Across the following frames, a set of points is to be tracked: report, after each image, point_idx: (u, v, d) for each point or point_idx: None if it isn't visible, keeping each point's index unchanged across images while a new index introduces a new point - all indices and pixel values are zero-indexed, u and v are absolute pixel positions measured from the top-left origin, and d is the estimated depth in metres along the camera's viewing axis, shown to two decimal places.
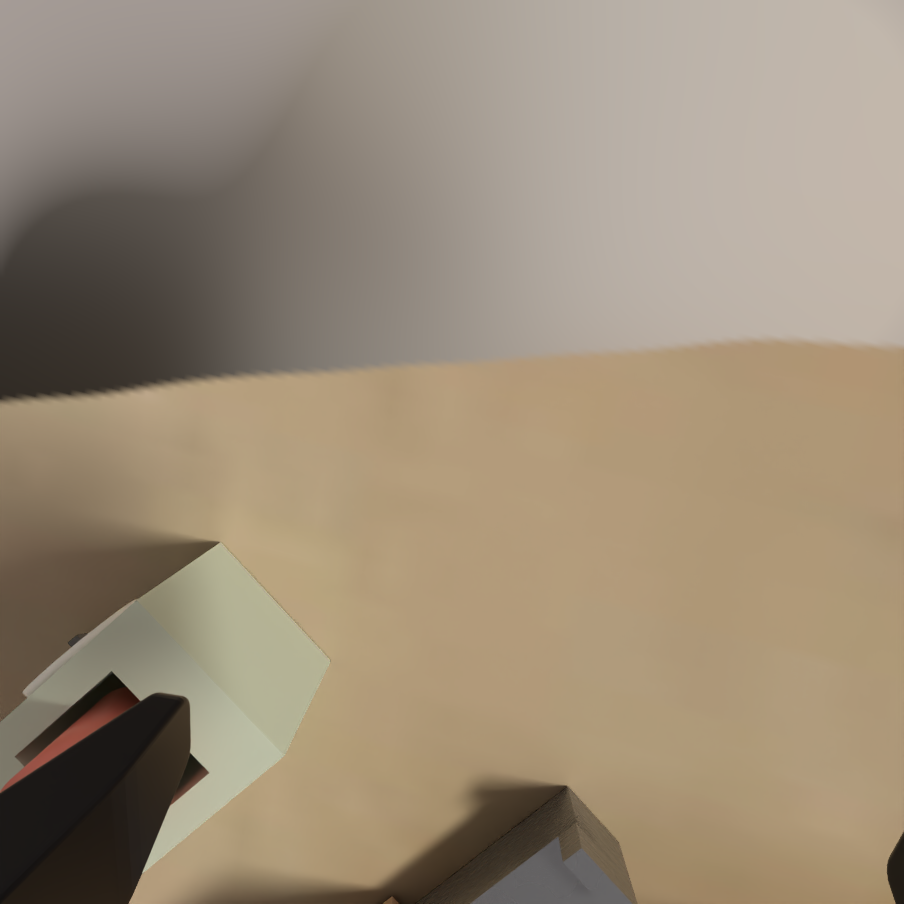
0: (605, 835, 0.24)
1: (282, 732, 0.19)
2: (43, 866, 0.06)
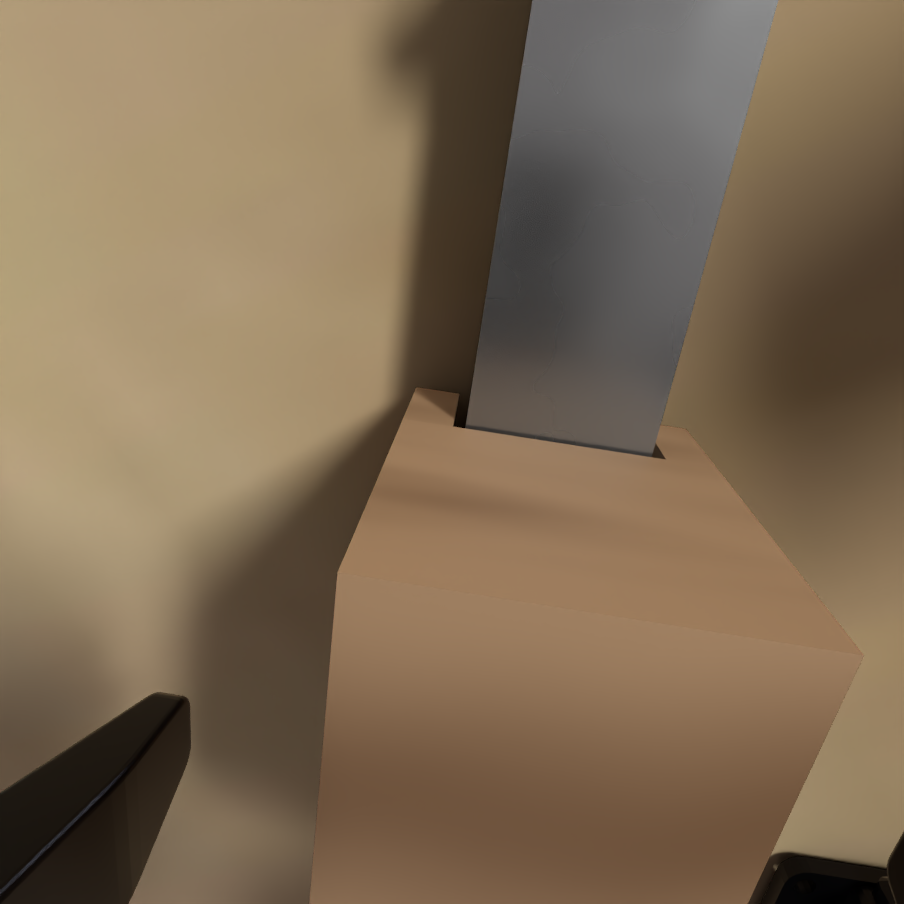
0: None
1: None
2: (43, 866, 0.06)
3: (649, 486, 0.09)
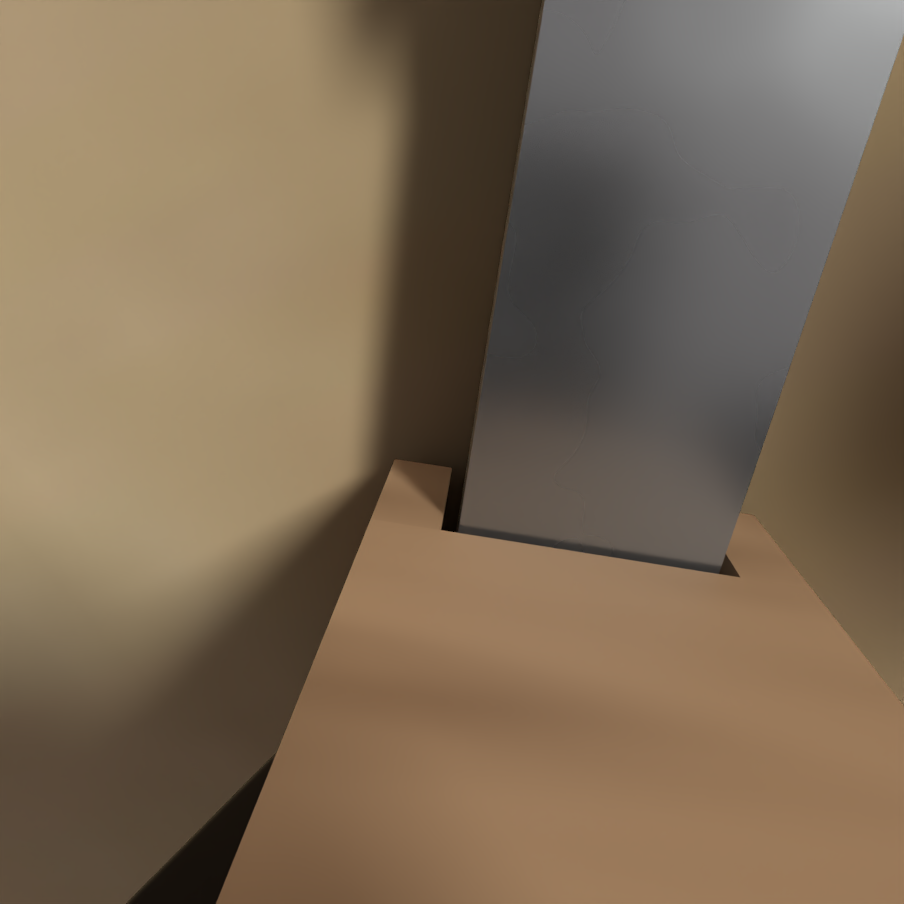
0: None
1: None
2: None
3: (729, 638, 0.06)
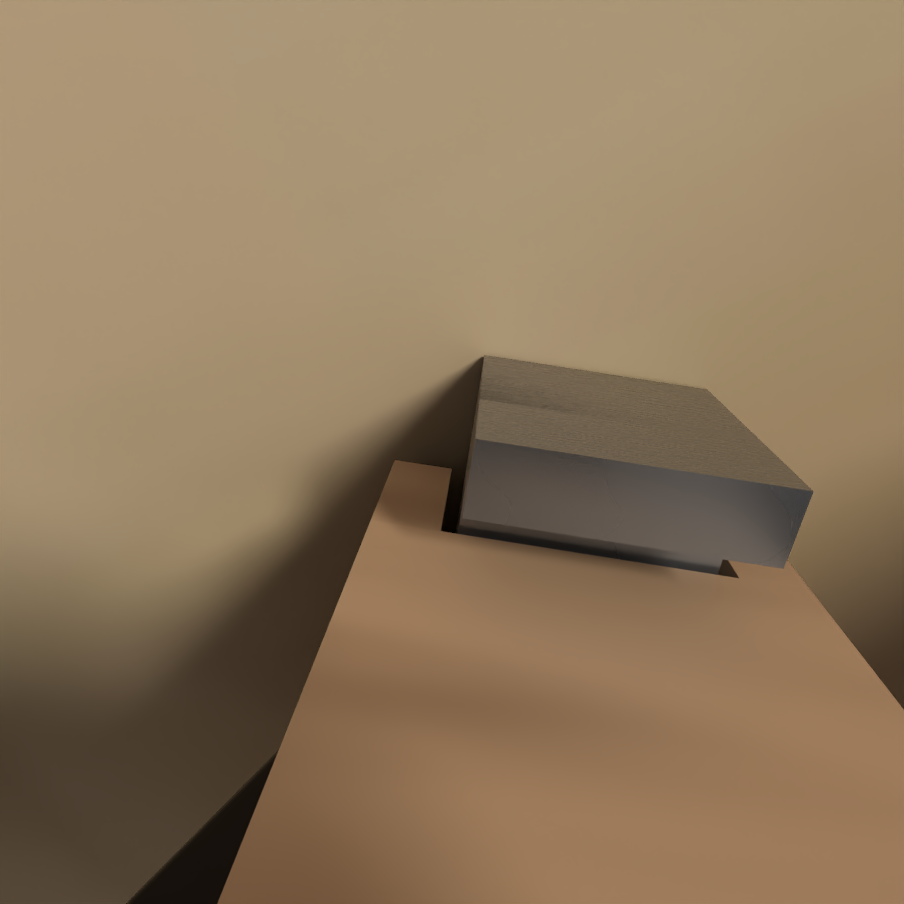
0: (644, 389, 0.08)
1: None
2: None
3: (727, 639, 0.06)
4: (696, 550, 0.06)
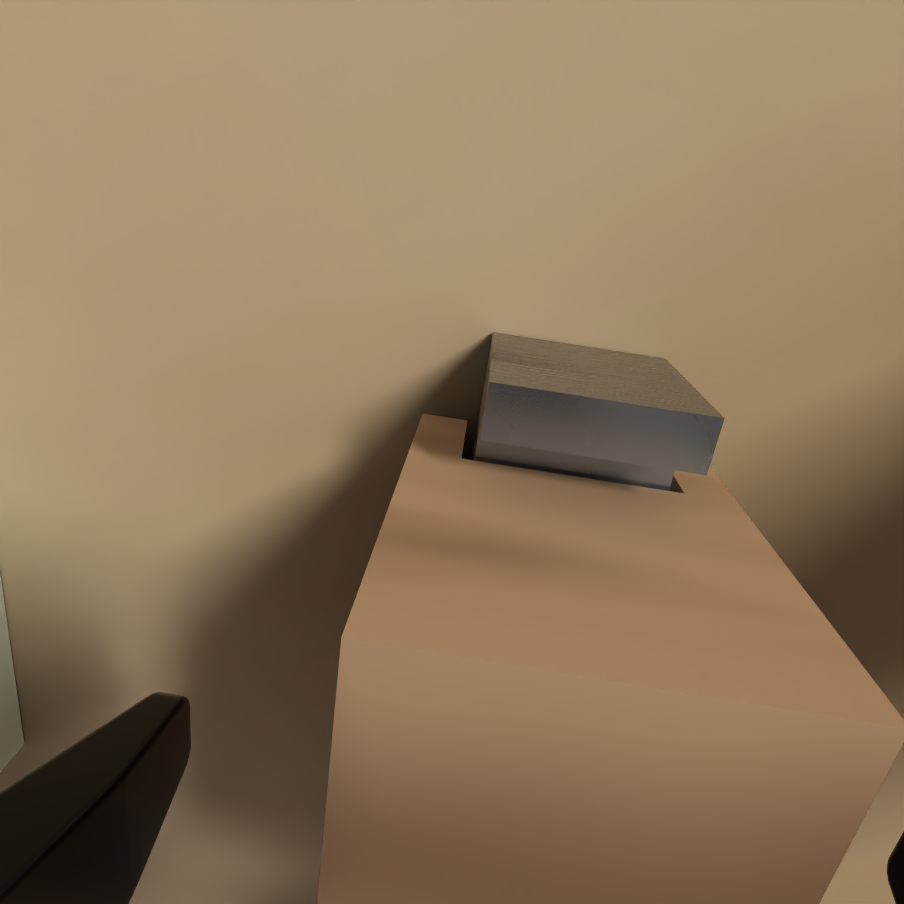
0: (615, 357, 0.11)
1: None
2: (43, 866, 0.06)
3: (668, 525, 0.09)
4: (645, 463, 0.09)
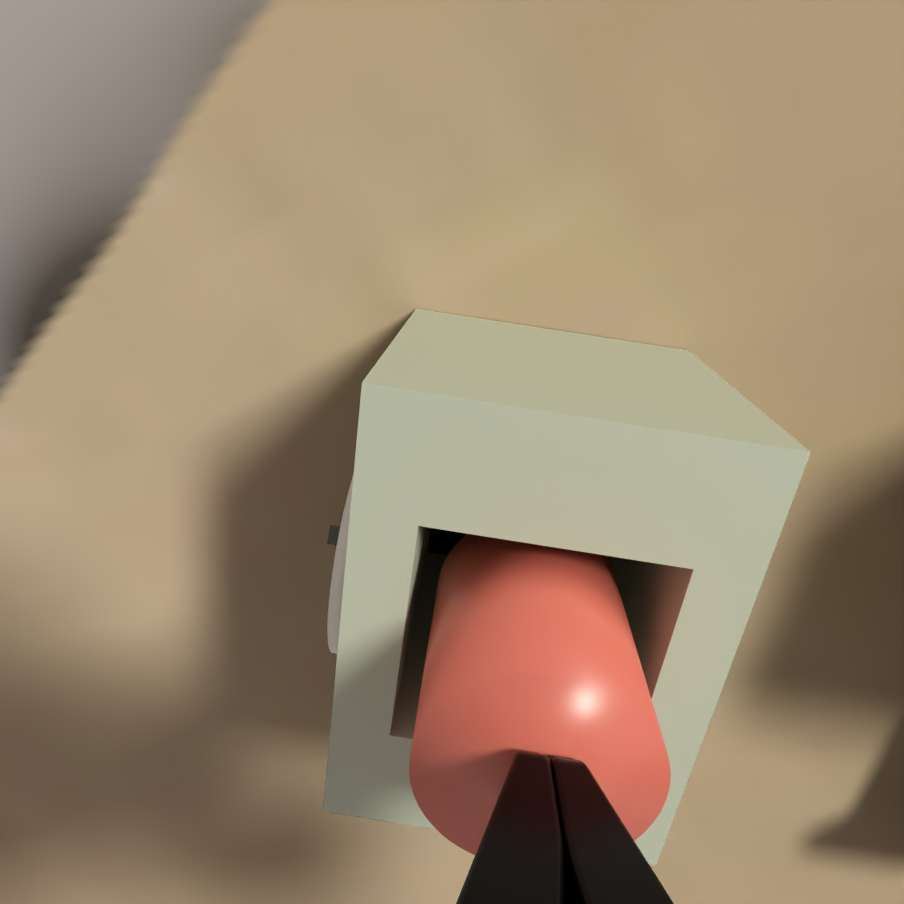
0: None
1: (762, 430, 0.09)
2: None
3: None
4: None
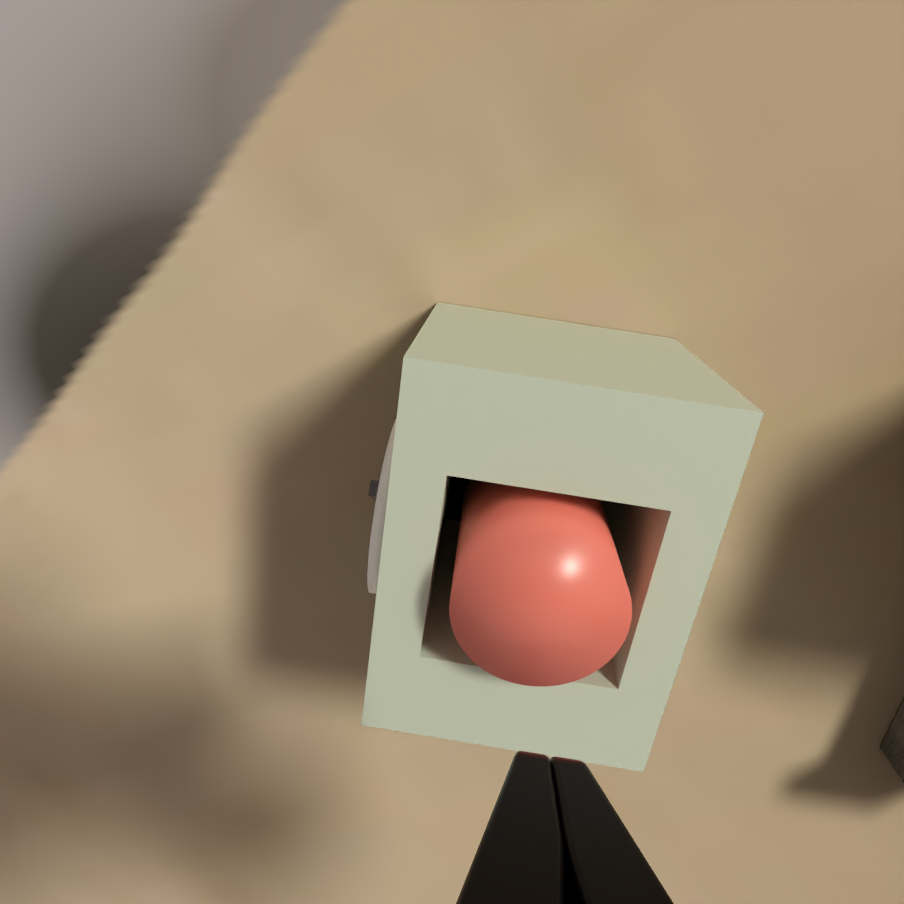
0: None
1: (726, 397, 0.11)
2: None
3: None
4: None
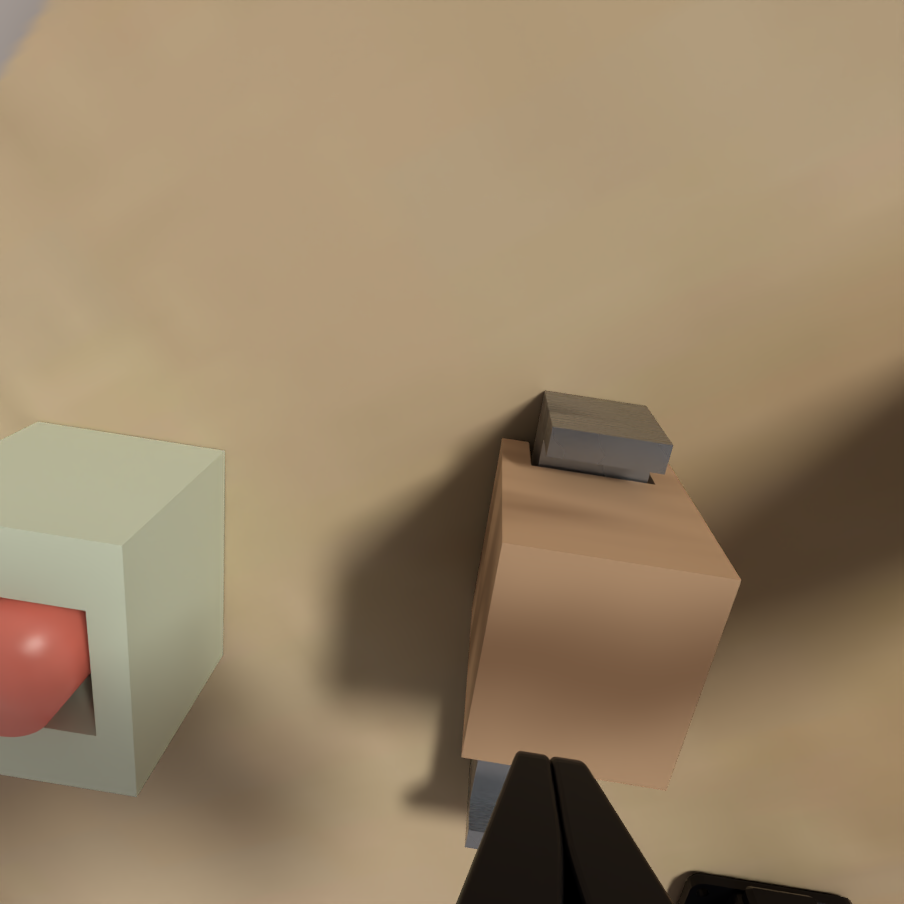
0: (617, 406, 0.19)
1: (121, 528, 0.16)
2: None
3: (645, 501, 0.17)
4: (632, 468, 0.17)
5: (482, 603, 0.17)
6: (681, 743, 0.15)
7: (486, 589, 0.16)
